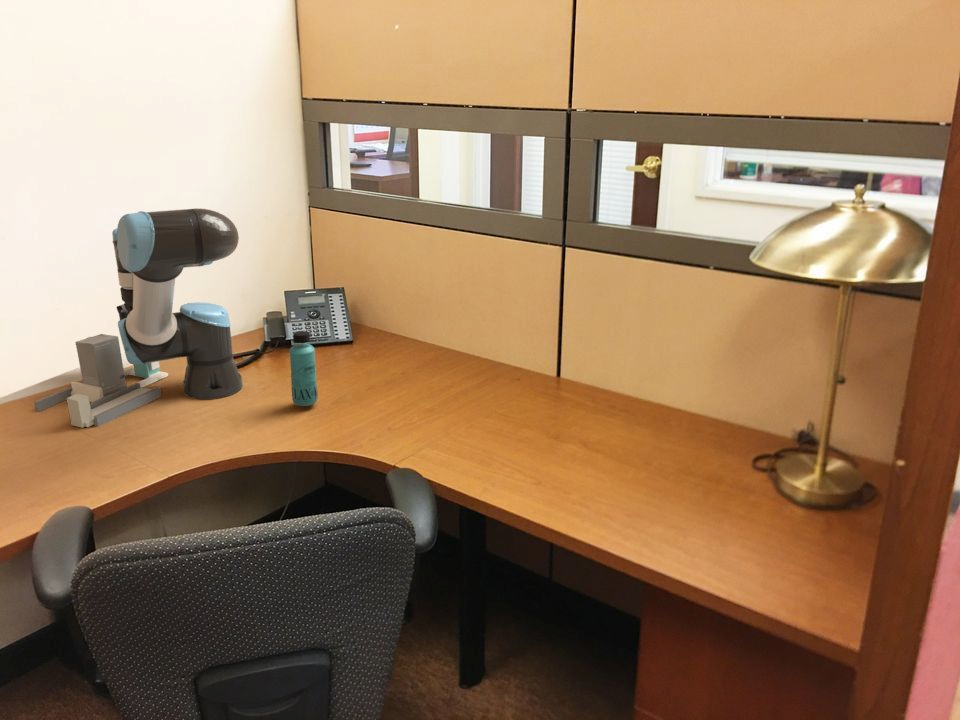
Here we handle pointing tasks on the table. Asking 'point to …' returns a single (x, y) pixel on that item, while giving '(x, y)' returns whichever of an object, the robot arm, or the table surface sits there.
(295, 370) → the beverage bottle
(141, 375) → the white and teal frame
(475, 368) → the table surface
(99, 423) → the lane bed
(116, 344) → the skincare box
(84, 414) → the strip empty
